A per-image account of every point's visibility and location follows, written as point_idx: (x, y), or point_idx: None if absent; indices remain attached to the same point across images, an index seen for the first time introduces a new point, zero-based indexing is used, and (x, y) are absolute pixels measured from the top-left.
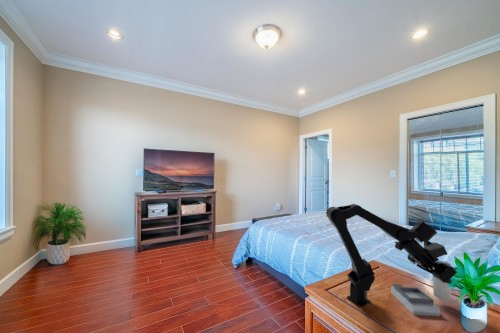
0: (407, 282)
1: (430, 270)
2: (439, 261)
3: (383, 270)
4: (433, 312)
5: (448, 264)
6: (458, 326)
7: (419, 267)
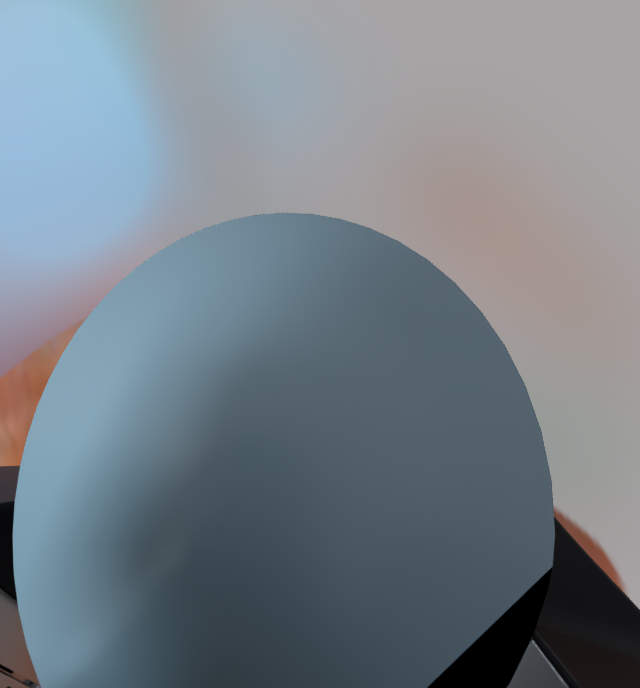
0: None
1: None
2: (147, 446)
3: (17, 444)
4: None
5: (431, 351)
6: (598, 545)
7: None
